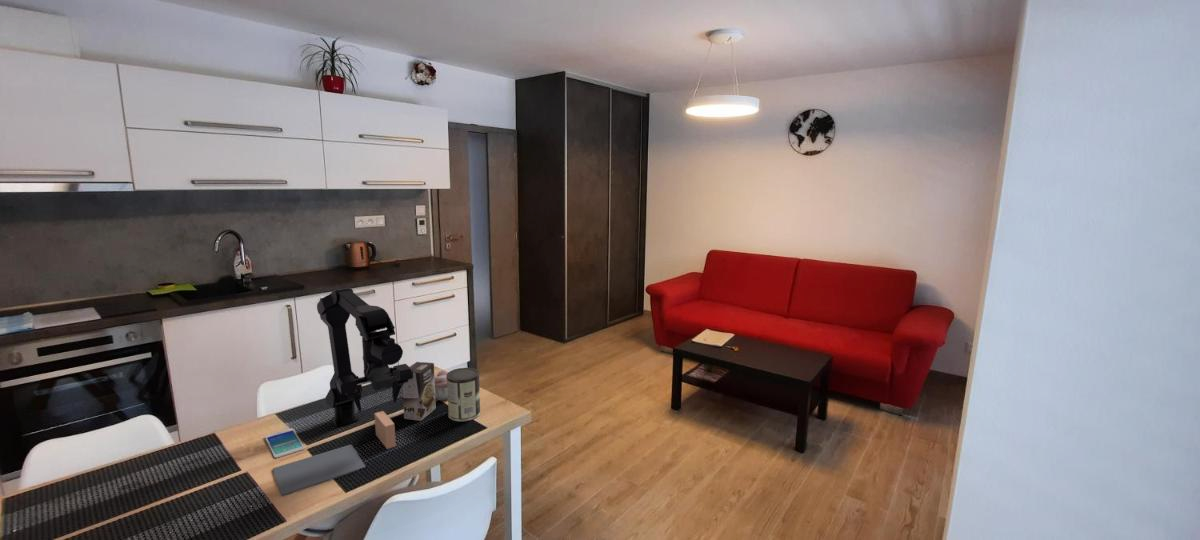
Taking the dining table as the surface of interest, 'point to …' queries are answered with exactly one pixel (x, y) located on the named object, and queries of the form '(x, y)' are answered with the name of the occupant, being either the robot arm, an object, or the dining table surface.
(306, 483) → the mat
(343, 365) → the robot arm
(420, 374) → the coffee box
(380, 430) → the block
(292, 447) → the smartphone
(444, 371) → the cupcake
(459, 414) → the coffee can
